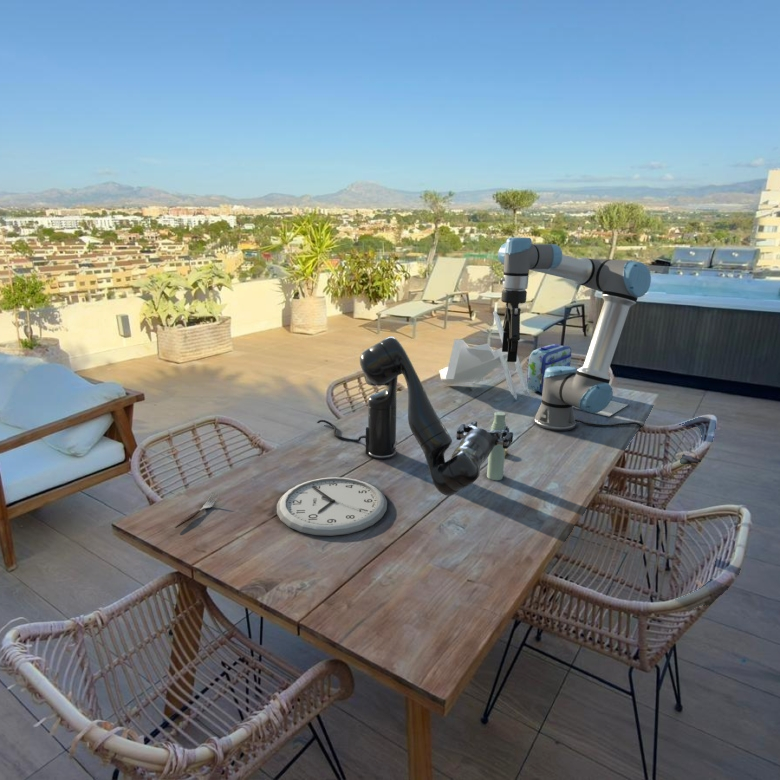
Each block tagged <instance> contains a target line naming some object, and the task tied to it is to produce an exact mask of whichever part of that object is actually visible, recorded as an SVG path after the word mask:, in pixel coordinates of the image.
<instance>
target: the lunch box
mask: <svg viewBox="0 0 780 780" xmlns="http://www.w3.org/2000/svg"><path fill="white" fill-rule="evenodd" d="M571 361H572V348H571V347H570V346H567V345H566V346H565V345H561V344H556V343H555V344H554V343H553V344H548V345H545V346H541V347H539V348H536V349H534V350H532V351H531V353H530V355H529V357H528V363H527V375H526V384H527V387H528V390H529V391H532V392H533V391H534V392H539V393H540V394H542V390H543V378H544V375H545V370H546V369H547V368H549V367H555V366H568V367H571Z"/></svg>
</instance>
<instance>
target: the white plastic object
mask: <svg viewBox="0 0 780 780" xmlns="http://www.w3.org/2000/svg"><path fill="white" fill-rule="evenodd" d="M492 315H493V319H494V321H495V324H496V325H495V326H496V328H497V332H498V335H499V338H500V342H501V344H502V343H503V332H504V331H503V324H502V321H501V318H500V315H499V314H498V312H497V311H496V310H495V311H492ZM507 356H508V352H502V347H500V348H498V349H496V350H495V349H493V348H492V347H491V346H490V344H489V343H488V342H487V343H483V344H479V345H473V346H469V345H468V343H466V342H465V340H464V339H463V338H460V339H458V338H454V340H453V344H452V349H451V353H450V357H449V362H448V366H446V367H444V368H442V369H440V370H439V371H438V372H439V376H440V381H442V383H443V384H444V385H445V386H449V385H458V384H467V383H468V384H469V383H473V384H477V383H480V382H482V381H484V378H485V377H486V376H487V375H489V374H490V373H492V372H494V371H495V370H496V369H497V368H499V367H500V366H502V370H503V373H504V376H505V380H506V383H507V386H508V390H509V393H510V394H511V395H512V397H513V398H514V399H515V400H517V392H516V391H517V390H516V388H515V385H514V381H513V378H512V375H511V371H510V369H509V365H508V362H507ZM513 363H514V366H515V369H516V372H517V376H518V380H519V382H520V385H521V389H522V391H523V393H524V395H525V396H526V397H528V396H531V395H530V390H529V389H528V387H527V380H526V378H525V375H524V371H523V369H522V368H523V367H522V366H521V362H520V359H519V355H518V354H517V360H516V362H513Z"/></svg>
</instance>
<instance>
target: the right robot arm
mask: <svg viewBox="0 0 780 780" xmlns="http://www.w3.org/2000/svg"><path fill="white" fill-rule="evenodd" d="M532 240H533V239H532V238H531V237H511V236H510V237H508V238H507V239H506V242H505V243H503V244H501V246H500V247H499V249H498V251H497V252H498V253H497V257H498V261H499V262H500V263H501V264H502V265H503V277H501V278H500V281H501V282H502V290H501V298H500V299H501V300H500V301H501V302H502V303H505V308H504V309H505V310H504V317H503V322H502V323H503V324H502V327H503V331H504V332H503V343H502V342H501V348H502V352H508V356H507V363H514V362H516V360H517V355H518V348H519V342H520V340H521V336H520V335H521V311H522V309H521V307H519V304H525V303H526V302H527V294H528V291H527V289H528V285H529V278H530V277H529V275H530V271H533V272H538V273H541V274H545V275H550V276H554V277H558V278H563V279H567V280H571V281H572V282H573V284H575V285H578V286H582V287H585V288H589V289H591V290H594V291H597V292H600V293H601V298H602V299H603V304H602V307H601V310H600V313H599V316H598V319H597V322H596V325H595V328H594V332H593V334H592V337H591V341H590V344H589V347H588V350H587V353H586V356H585V358H584V363H583V365H582V366H581V367H579V368H577V367H574V366H570V367H568V366H555V367H549V368H547V369H546V370H545V375H544V378H543V390H542V393H541V402H540V405H539V407H538V410H537V411H536V413H535V416H534V424H535V425H536V426H537V427H539V428H542V429H544V430H549V431H556V432H567V431H572V430H574V429H575V428H576V423H580V424H583V425H585V426H592V427H603V428H605V427H607V428H610V427H611V428H613V427H619V426H631V425H633V426H634V425H635V426H638V427H639V428H644V426H643V424H641V423H639V422H635V421H634V422H633V421H632V422H619V423H613V424H610V423H609V424H603V423H601V424H600V423H592V422H587V421H583V420H580V419H576V418H575V417H576V416H575V413H574V407H576V408H579V409H578V410H580V409H581V411H583V412H587V413H590V414H596V413H597V412H600V411H602V410H603V409H605V408H606V407H607V405H608V404H609V403H610V401H612V399H613V395H614V390H613V387H612V386H611V384H610V381H611V377H610V375H609V370H610V367H611V364H612V361H613V358H614V355H615V352H616V349H617V346H618V343H619V340H620V338H621V334H622V331H623V328H624V326H625V322H626V320H627V317H628V315H629V314H628V313H629V311H630V308H631V307H632V306H634V305H636V304H637V301H638V298H641V297H644V296H645V295H646V294H647V293H648V291H649V290H650V287H651V283H652V277H651V275H652V274H651V272H650V269H649V267H648V266H647V265H646V264H645V263H644V262H642V261H637V260H625V259H612V258H588V257H586V256H585V257H584V256H583V257H580V258H577V257H573V256H569V255H565V254H563V251H562V248H561V247H560V246H559V245H557V244H552V243H532ZM576 408H575V409H576Z"/></svg>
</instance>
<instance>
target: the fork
mask: <svg viewBox="0 0 780 780" xmlns="http://www.w3.org/2000/svg"><path fill="white" fill-rule="evenodd" d="M219 496H220V494H218V493H213V492H212V493H211V494H210V497H208V500H207V501H206V502H205V503H204V504H203V505H202V507H201V508H200V509H198V510H196V511H194V512H193V513H191V514H189V515H188V516H187V517H185V518H184V519H183V520H182V521H181V522H179V523H178V524H177V525H175V527H174V528H175V529H177V528H179V527H180V526H182V525H184V524H185V523H187V522H189V521H190V520H192V519H194V517H196V516H197V515H198V514H199V513H201V511H203V510H204V509H210V508H212V507H213V506H214V505H215V504H216V502H217V500H218V498H219Z"/></svg>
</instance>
